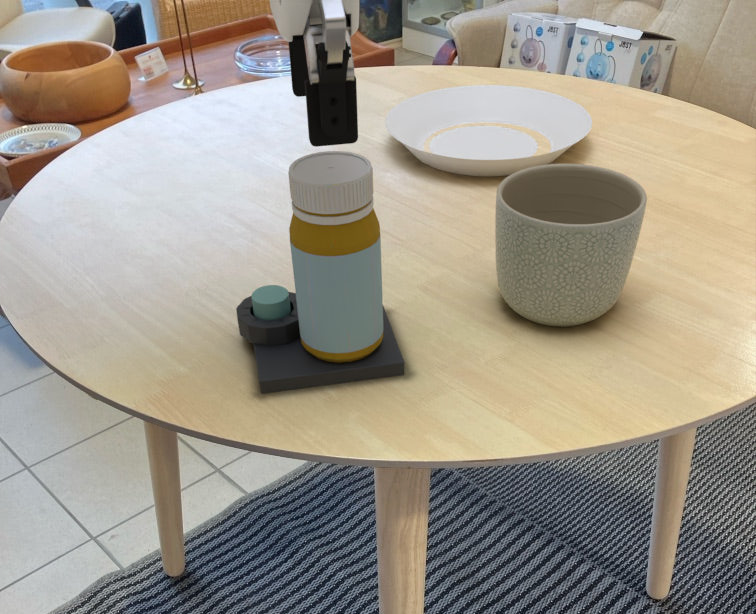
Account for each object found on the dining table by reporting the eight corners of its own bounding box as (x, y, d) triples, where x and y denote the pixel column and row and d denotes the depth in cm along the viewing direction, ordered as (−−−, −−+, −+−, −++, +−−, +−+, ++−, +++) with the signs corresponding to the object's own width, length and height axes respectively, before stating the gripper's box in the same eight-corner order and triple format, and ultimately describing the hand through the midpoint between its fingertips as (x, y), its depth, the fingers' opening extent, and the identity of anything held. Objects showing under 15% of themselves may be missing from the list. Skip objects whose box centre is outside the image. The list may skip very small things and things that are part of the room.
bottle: (398, 333, 74) (395, 158, 63) (355, 374, 69) (345, 194, 59) (330, 313, 76) (316, 142, 66) (285, 352, 72) (263, 176, 62)
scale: (249, 400, 70) (243, 364, 68) (239, 329, 78) (234, 295, 76) (404, 379, 72) (404, 343, 69) (380, 311, 79) (379, 277, 77)
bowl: (577, 199, 95) (581, 167, 93) (362, 181, 101) (361, 150, 98) (595, 119, 113) (600, 90, 110) (411, 107, 118) (411, 80, 116)
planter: (548, 359, 73) (563, 240, 65) (462, 298, 81) (467, 185, 73) (654, 315, 77) (679, 199, 70) (563, 262, 85) (577, 152, 78)
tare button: (255, 324, 73) (252, 305, 71) (252, 305, 75) (249, 287, 74) (292, 319, 73) (290, 301, 72) (288, 300, 75) (286, 282, 74)
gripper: (229, -207, 54) (259, 82, 66) (249, -178, 42) (283, 171, 53) (346, -212, 55) (356, 74, 67) (401, -184, 42) (400, 160, 54)
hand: (323, 117), depth 60 cm, fingers open, 9 cm apart
